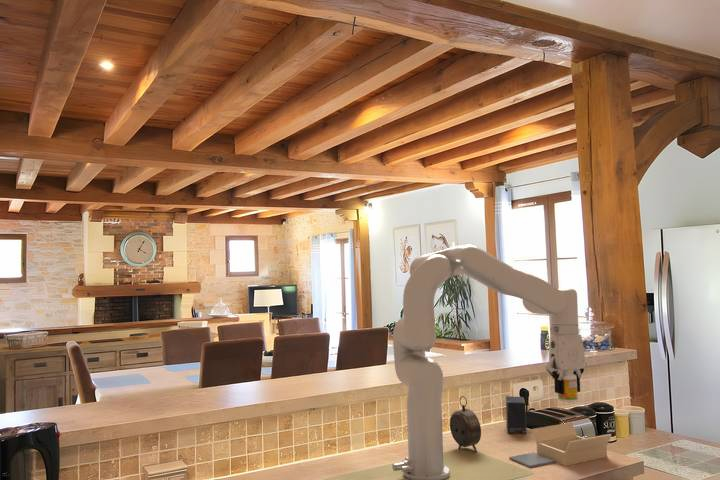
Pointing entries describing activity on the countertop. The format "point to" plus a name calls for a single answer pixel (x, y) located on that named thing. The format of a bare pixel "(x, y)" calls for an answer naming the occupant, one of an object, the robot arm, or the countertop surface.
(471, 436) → the alarm clock
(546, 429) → the carton
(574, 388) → the supplement bottle
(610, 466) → the countertop surface
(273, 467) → the countertop surface
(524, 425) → the small box
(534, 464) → the plate
